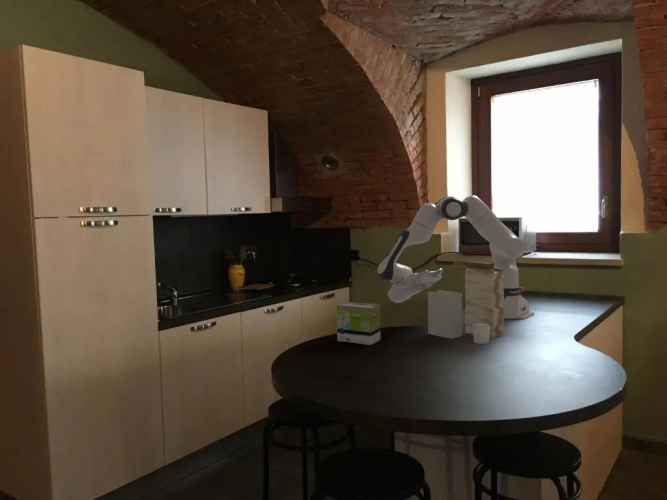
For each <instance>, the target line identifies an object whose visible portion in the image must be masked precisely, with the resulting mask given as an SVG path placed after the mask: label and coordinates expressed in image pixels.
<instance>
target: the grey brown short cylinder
mask: <svg viewBox="0 0 667 500" xmlns="http://www.w3.org/2000/svg"><path fill="white" fill-rule="evenodd" d="M472 328H473V334H472V336H473V337H472V338H473V343H475V344H480V345H487V344H489V342H490V337H489V334H490V324H487V323H474V324H472Z"/></svg>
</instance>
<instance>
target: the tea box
mask: <svg viewBox="0 0 667 500" xmlns="http://www.w3.org/2000/svg"><path fill="white" fill-rule="evenodd" d="M336 331H337V332H336V336H337V342H345V343H354V344H359V345H367V346H373V345H374V344H376V343H377V342H379V341H380V340H381V304H377V303H365V302H352V301H347V302H344V303H340V304H339V305H336Z"/></svg>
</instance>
